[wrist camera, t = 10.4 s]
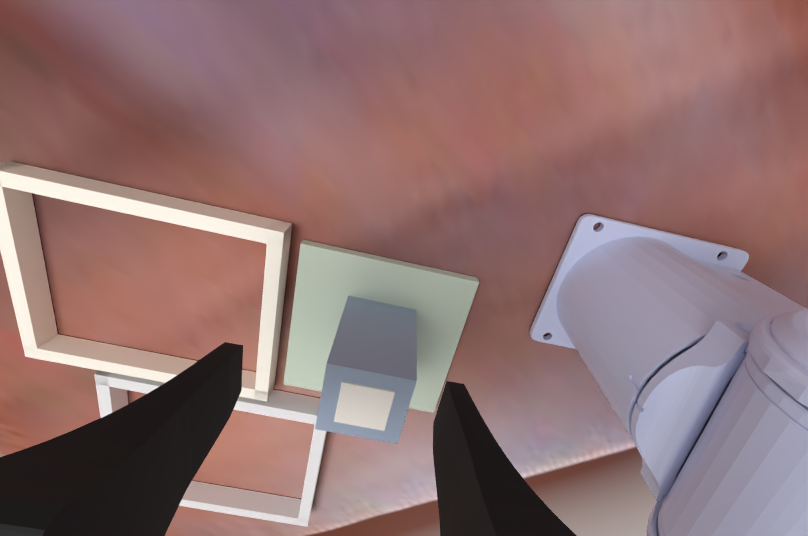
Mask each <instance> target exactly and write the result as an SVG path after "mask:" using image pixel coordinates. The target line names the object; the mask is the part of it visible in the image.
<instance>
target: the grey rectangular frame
mask: <svg viewBox="0 0 808 536" xmlns="http://www.w3.org/2000/svg"><path fill="white" fill-rule="evenodd" d="M94 375H95V382H96V389H97V396H98V403H99V410H100V416H101V418H102V417H104V416H106V415H108V414H111V413H113V412H115V411H116V410H118V409H120V408H122V407H124V406H126V405H128V394H127V390H130V391H136V392H141V393H147V394H148V393H149V392H151V391H153V390H154V389H156V388H158V387H159V386H161V385H163V384H164V383H165V382H159V381H154V380H148V379H143V378H138V377H132V376H127V375H122V374H116V373H111V372H106V371H100V370H99V371H98V372H96V373H95V374H94ZM319 403H320V398H316V397H311V396H305V395H300V394H295V393H290V392H284V391H279V390H274V389H273V390H272V392H271V394H270V396H269V398H268V400H267V402H266V401H261V400H256V399H250V398H245V397H240V396H239V398H238V400H237V402H236V405H235V407H234V410H239V411H245V412H250V413H255V414H261V415H266V416H272V417H277V418H283V419H288V420H294V421H299V422H304V423H310V424H315V426H316V420H317V415H318V409H319ZM315 426H314V431H313V437H312V443H311V448H310V454H309V460H308V465H307V471H306V477H305V482H304V488H303V494H302V499H297V498H291V497H285V496H279V495H273V494H268V493H262V492H256V491H250V490H244V489H238V488H232V487H226V486H220V485H215V484H209V483H203V482H197V481H191V483H190V485H189V487H188V488H187V490H186V492H185V494H184V496H183V498H182V500H181V502H180V504H179V506H185V507H191V508H197V509H203V510H209V511H215V512H221V513H227V514H233V515H239V516H245V517H252V518H258V519H264V520H270V521H276V522H282V523H288V524H294V525H300V526H306V527H307V526H308V522H309V518H310V514H311V510H312V505H313V500H314V495H315V490H316V485H317V480H318V475H319V470H320V465H321V459H322V454H323V449H324V444H325V439H326V434H327V431H323V430H317V429H315Z"/></svg>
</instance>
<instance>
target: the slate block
mask: <svg viewBox="0 0 808 536" xmlns="http://www.w3.org/2000/svg"><path fill="white" fill-rule="evenodd" d="M416 382H417V335H416V310H415V309H410V308H405V307H401V306H396V305H391V304H386V303H381V302H377V301H372V300H367V299H362V298H357V297H353V296H348V298H347V301H346V304H345V307H344V310H343V313H342V317H341V320H340V323H339V326H338V329H337V332H336V335H335V338H334V342H333V345H332V348H331V351H330V354H329V357H328V360H327V364H326V370H325V375H324V381H323V386H322V392H321V398H320V403H319V409H318V415H317V420H316V426H315V429H317V430H323V431H328V432H334V433H339V434H345V435H350V436H356V437H361V438H367V439H372V440H378V441H383V442H389V443H394V444H398V440H399V437H400V434H401V431H402V427H403V424H404V421H405V418H406V414H407V411H408V408H409V405H410V401H411V398H412V395H413V392H414V388H415V385H416Z"/></svg>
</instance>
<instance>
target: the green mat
mask: <svg viewBox="0 0 808 536" xmlns="http://www.w3.org/2000/svg"><path fill="white" fill-rule="evenodd" d="M478 284H479V280H478V278H477V277H473V276H468V275H464V274H459V273H455V272H450V271H445V270H441V269H436V268H432V267H427V266H422V265H418V264H413V263H409V262H404V261H399V260H395V259H390V258H386V257H381V256H376V255H372V254H367V253H363V252H358V251H354V250H349V249H344V248H340V247H335V246H331V245H326V244H321V243H317V242H312V241H308V240H303V241H302V242H301V245H300V253H299V261H298V269H297V277H296V286H295V294H294V302H293V310H292V318H291V327H290V335H289V343H288V351H287V359H286V368H285V376H284V384H285V385H290V386H295V387H301V388H306V389H311V390H316V391H322V386H323V381H324V375H325V370H326V364H327V360H328V357H329V354H330V351H331V348H332V345H333V342H334V338H335V335H336V332H337V329H338V326H339V323H340V320H341V317H342V313H343V310H344V307H345V304H346V301H347V298H348V296H353V297H357V298H362V299H367V300H372V301H377V302H381V303H386V304H391V305H396V306H401V307H405V308H410V309H415V310H416V335H417V382H416V385H415V388H414V392H413V395H412V398H411V401H410V405H409V408H411V409H416V410H421V411H427V412H432V413H434V411H435V408H436V405H437V402H438V399H439V396H440V393H441V391H442V388H443V385H444V382H445V379H446V376H447V373H448V370H449V368H450V365H451V362H452V359H453V356H454V353H455V350H456V348H457V345H458V342H459V339H460V336H461V333H462V330H463V327H464V325H465V322H466V319H467V316H468V313H469V310H470V307H471V305H472V302H473V299H474V296H475V293H476V290H477V287H478Z"/></svg>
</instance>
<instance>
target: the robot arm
mask: <svg viewBox="0 0 808 536" xmlns="http://www.w3.org/2000/svg"><path fill="white" fill-rule="evenodd" d="M598 222H600V226H599V228H597V229H593V226H594V225H595V224H596V223H598ZM720 252H722V254H721V255H720V256H719V257H717V256H718V254H719V253H720ZM748 259H749V255H748V253H747V252H745V251H743V250H741V249H738V248H733V247H729V246H725V245H721V244H716V243H712V242H708V241H704V240H699V239H695V238H691V237H687V236H682V235H678V234H674V233H670V232H665V231H661V230H657V229H653V228H648V227H644V226H640V225H636V224H631V223H627V222H623V221H619V220H614V219H610V218H606V217H602V216H597V215H593V214H585V215H583V216H581V217H580V218H579V220H578V221H577V223H576V226H575V228H574V230H573V233H572V235H571V237H570V239H569V242H568V244H567V246H566V249H565V251H564V253H563V255H562V258H561V260H560V262H559V265H558V267H557V269H556V271H555V274H554V276H553V278H552V281H551V283H550V285H549V287H548V290H547V292H546V294H545V297H544V299H543V301H542V303H541V306H540V308H539V310H538V313H537V315H536V317H535V319H534V322H533V324H532V326H531V329H530V332H529V333H530V336H531V338H532V339H533V340H535V341H538V342H543V343H548V344H553V345H557V346H562V347H567V348H572V349H576V350H577V351H578V353H579V355H580V356H581V358H582V359H583V361H584V363H585V364H586V366H587V368H588V369H589V371H590V373H591V374H592V376H593V377H594V379H595V381H596V382H597V384H598V386H599V387H600V389H601V390H602V392H603V394H604V395H605V397H606V399H607V400H608V402H609V403H610V405H611V407H612V408H613V410H614V412H615V413H616V415H617V416H618V418H619V420H620V421H621V423H622V425H623V426H624V428H625V429H626V431H627V433H628V434H629V436H630V438H631V439H632V441H633V442H634V444H635V445H636V447H637V449H638V451H639V452H640V454H641V456H642V460H643V466H642V469H641V472H640V473H641V475H642V477H643V478H644V480H645V482H646V483H647V485H648V487H649V489H650V490H651V492H652V494H653V495H654V497H655V499H656V500H657V503H656V505H655V507H654V509H653V511H652V513H651V515H650V517H649V520H648V526H647V536H808V309H807V308H805V307H803V306H801V305H800V304H798V303H796V302H794V301H792V300H791V299H789V298H787V297H785V296H784V295H782V294H780V293H778V292H777V291H775V290H773V289H771V288H770V287H768V286H766V285H764V284H762V283H761V282H759V281H757V280H755V279H754V278H752V277H750V276H748V275H747V274H745V273H743V272H741V271H742V269H743V268H744V266H745V265H746V263H747V262H748ZM545 333H550V334H549V335H548V336H543V335H544V334H545ZM242 358H243V345H237V344H232V343H226V342H225V343H223V344H222V345H220V346H219V347H217V348H216V349H214V350H213V351H212V352H210V353H209V354H207V355H206V356H204V357H203V358H202V359H200V360H199V361H197V362H196V363H194V364H193V365H192V366H190V367H189V368H187V369H186V370H184V371H183V372H181V373H180V374H178V375H177V376H175V377H174V378H172V379H171V380H169V381H167V382H166V383H164V384H163V385H161V386H159V387H158V388H156V389H154V390H153V391H151V392H149V393H148V394H146V395H144V396H143V397H141V398H139V399H137V400H136V401H134V402H132V403H130V404H128V405H126V406H124V407H122V408H120V409H118V410H116V411H115V412H113V413H111V414H108V415H106V416H104V417H102V418H100V419H98V420H95V421H93V422H91V423H89V424H86V425H84V426H82V427H80V428H77V429H75V430H73V431H71V432H68V433H66V434H63V435H61V436H58V437H56V438H53V439H51V440H48V441H46V442H43V443H40V444H38V445H35V446H32V447H29V448H27V449H24V450H21V451H18V452H15V453H12V454H9V455H6V456H3V457H0V536H165V533H166V531H167V529H168V527H169V525H170V523H171V521H172V519H173V517H174V514H175V512H176V510H177V508H178V506H179V504H180V502H181V500H182V498H183V496H184V494H185V492H186V490H187V488H188V487H189V485H190V483H191V481H192V479H193V478H194V476H195V474H196V473H197V471H198V469H199V468H200V466H201V464H202V463H203V461H204V459H205V458H206V456H207V454H208V453H209V451H210V450H211V448H212V446H213V445H214V443H215V441H216V440H217V438H218V436H219V435H220V433H221V431H222V430H223V428H224V426H225V425H226V423H227V421H228V419H229V418H230V415H231V413H232V411H233V409H234V407H235V405H236V402H237V400H238V398H239V395H240V393H241V391H242ZM433 456H434V467H435V477H436V487H437V497H438V507H439V517H440V535H441V536H576V535H575V534H574V533H573V532H572V531H571V530H570V529H569V528H568V527H567V526H566V525H565V524H564V523H563V522H562V521H561V520H560V519H559V518H558V517H557V516H556V515H555V514H554V513H553V512H552V511H551V510H550V509H549V508H548V507H547V506H546V505H545V504H544V502H543V501H542V500H541V499H540V498H539V497H538V496H537V495H536V494H535V492H534V491H533V490H532V489H531V488H530V487H529V485H528V484H527V483H526V482H525V480H524V479H523V478H522V477H521V475H520V474H519V473H518V472H517V470H516V469H515V468H514V466H513V465H512V464H511V462H510V461H509V459H508V458H507V457H506V455H505V454H504V452H503V451H502V449H501V448H500V446H499V445H498V443H497V442H496V440H495V439H494V437H493V435H492V434H491V432H490V430H489V429H488V427H487V425H486V424H485V422H484V420H483V419H482V417H481V415H480V413H479V411H478V410H477V408H476V406H475V404H474V402H473V400H472V398H471V397H470V395H469V393H468V391H467V389H466V387H465V386H464V384H460V383H454V382H448V381H447V382H446V385H445V389H444V392H443V395H442V398H441V401H440V404H439V407H438V411H437V414H436V417H435V420H434V426H433Z"/></svg>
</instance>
